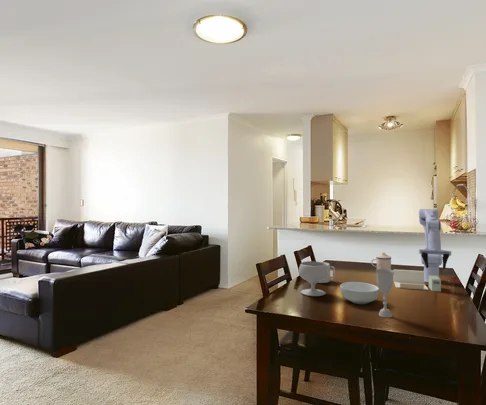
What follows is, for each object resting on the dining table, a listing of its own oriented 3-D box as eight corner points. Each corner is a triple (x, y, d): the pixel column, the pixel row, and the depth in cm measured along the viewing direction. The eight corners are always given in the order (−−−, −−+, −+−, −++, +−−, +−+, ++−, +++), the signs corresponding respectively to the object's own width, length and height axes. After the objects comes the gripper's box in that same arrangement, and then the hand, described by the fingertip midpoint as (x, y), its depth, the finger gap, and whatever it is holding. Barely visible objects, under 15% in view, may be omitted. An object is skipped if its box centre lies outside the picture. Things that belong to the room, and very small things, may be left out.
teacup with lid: (391, 269, 221) (391, 252, 221) (391, 272, 213) (391, 254, 213) (371, 268, 226) (371, 251, 226) (371, 271, 217) (371, 253, 217)
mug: (310, 282, 191) (310, 265, 191) (311, 278, 201) (311, 261, 201) (335, 283, 188) (335, 265, 187) (334, 279, 198) (334, 262, 198)
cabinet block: (428, 286, 180) (428, 275, 180) (437, 287, 178) (437, 275, 178) (432, 291, 170) (432, 279, 170) (441, 292, 169) (441, 280, 169)
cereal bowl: (353, 309, 145) (353, 292, 145) (333, 298, 161) (333, 283, 161) (387, 305, 150) (387, 289, 150) (364, 294, 166) (364, 280, 166)
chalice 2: (390, 312, 141) (389, 268, 140) (398, 317, 134) (397, 272, 134) (372, 312, 140) (372, 269, 140) (379, 318, 134) (379, 272, 133)
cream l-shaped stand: (393, 281, 190) (393, 269, 190) (423, 283, 185) (423, 271, 185) (396, 287, 178) (395, 274, 177) (428, 290, 173) (428, 276, 172)
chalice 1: (315, 288, 179) (315, 260, 179) (333, 295, 166) (333, 264, 166) (293, 291, 173) (293, 262, 173) (310, 299, 160) (309, 267, 160)
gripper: (420, 239, 176) (421, 265, 172) (452, 241, 171) (453, 268, 167) (418, 243, 182) (418, 268, 178) (448, 244, 178) (450, 270, 173)
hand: (435, 268), depth 173 cm, fingers open, 7 cm apart
